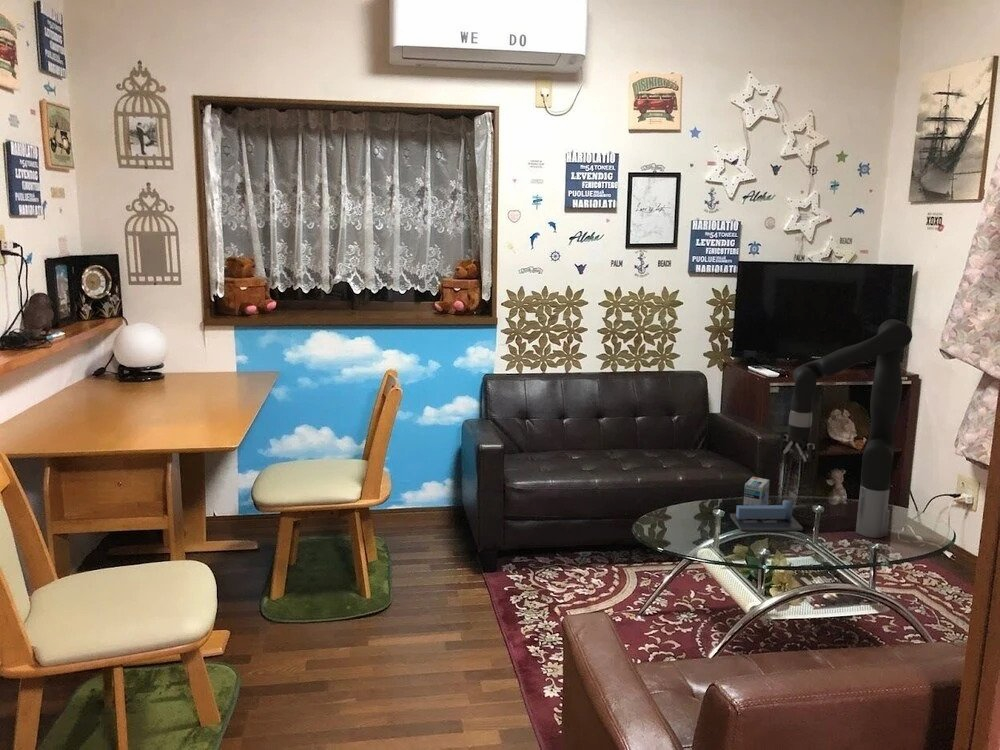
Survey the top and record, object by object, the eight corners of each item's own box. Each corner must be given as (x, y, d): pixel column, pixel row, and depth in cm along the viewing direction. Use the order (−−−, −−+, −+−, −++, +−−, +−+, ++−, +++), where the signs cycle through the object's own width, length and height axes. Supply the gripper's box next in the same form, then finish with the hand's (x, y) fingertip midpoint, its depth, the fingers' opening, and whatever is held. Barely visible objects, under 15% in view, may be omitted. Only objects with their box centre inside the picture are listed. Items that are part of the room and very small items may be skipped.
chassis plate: (789, 516, 294) (789, 512, 294) (802, 530, 282) (803, 526, 281) (730, 516, 294) (730, 512, 294) (740, 530, 282) (741, 526, 281)
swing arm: (789, 515, 291) (790, 499, 290) (793, 519, 287) (794, 503, 286) (735, 515, 291) (736, 499, 290) (738, 519, 287) (739, 503, 286)
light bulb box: (760, 515, 296) (762, 487, 294) (742, 511, 300) (744, 484, 297) (768, 506, 305) (770, 479, 303) (750, 502, 309) (752, 476, 306)
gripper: (776, 419, 282) (772, 463, 285) (808, 429, 269) (803, 475, 273) (792, 417, 285) (788, 460, 289) (824, 427, 273) (819, 472, 276)
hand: (795, 467), depth 281 cm, fingers open, 8 cm apart
